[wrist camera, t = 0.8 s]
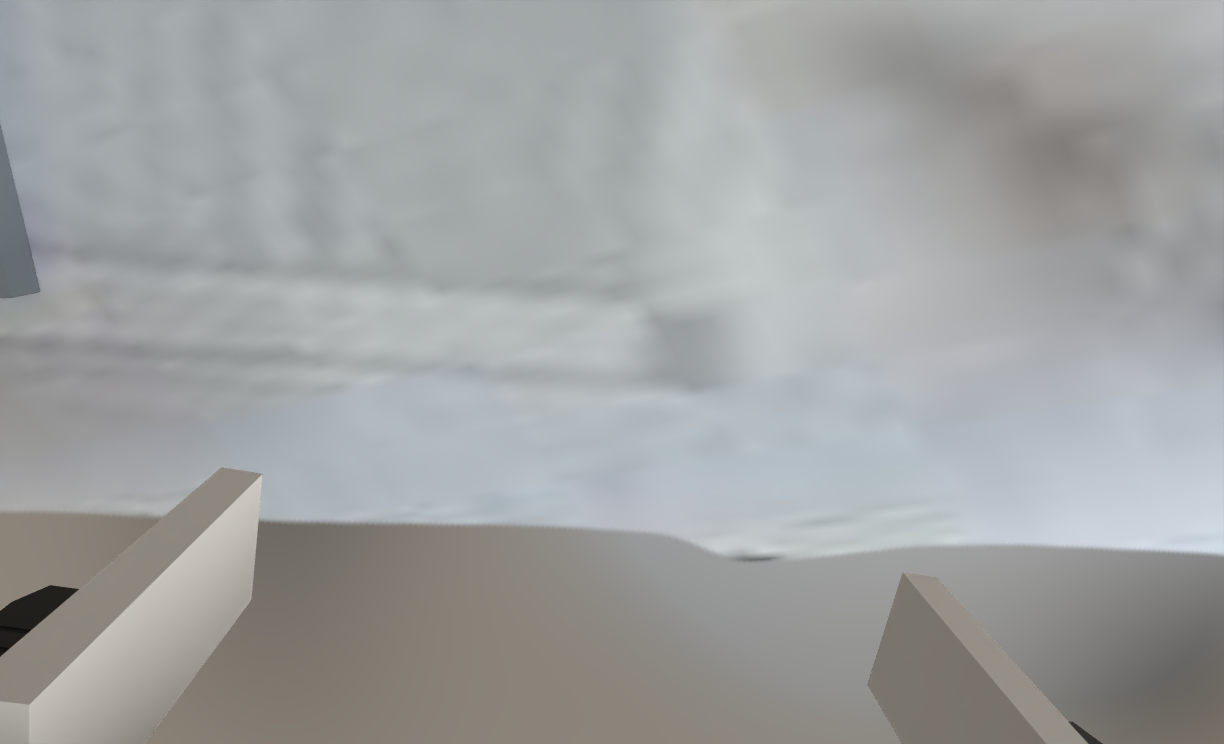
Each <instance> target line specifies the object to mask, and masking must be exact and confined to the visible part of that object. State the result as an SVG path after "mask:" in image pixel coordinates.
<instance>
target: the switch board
mask: <svg viewBox="0 0 1224 744" xmlns="http://www.w3.org/2000/svg"><path fill="white" fill-rule="evenodd" d="M37 292H40V288H39V284H38V280H37V276H36V272H35V268H34V263H33V259H32V255H31V251H30V247H29V243H28V238H27V234H26V230H25V226H24V222H23V218H22V214H21V209H20V205H19V201H18V197H17V193H16V189H15V184H14V180H13V176H12V172H11V168H10V164H9V159H8V155H7V151H6V147H5V143H4V139H3V135H2V130H1V126H0V298H13V297H18V296H23V295H28V294H32V293H37Z"/></svg>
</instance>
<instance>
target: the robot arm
mask: <svg viewBox="0 0 1224 744" xmlns="http://www.w3.org/2000/svg"><path fill="white" fill-rule="evenodd" d="M262 475H263V474H261V473H254V472H248V471H241V470H235V469H228V468H220V469H219V470H218V471H217V472H216V473H215V474H213V475H212V476H211V477H210V478H209V479H208V480H206V481H205V482H204V483H203V484H202V485H201V486H199V487H198V488H197V489H196V490H195V491H194V492H192V493H191V494H190V495H189V496H188V497H187V498H185V499H184V500H183V501H182V502H181V503H180V504H178V505H177V506H176V507H175V508H174V509H173V510H171V511H170V512H169V513H168V514H167V515H166V516H164V517H163V518H162V519H161V520H160V521H159V522H157V523H156V524H155V525H154V526H153V527H152V528H151V529H149V530H148V531H147V532H146V533H144V534H143V535H142V536H141V537H140V538H139V539H137V540H136V541H135V542H134V543H133V544H132V545H130V546H129V547H128V548H127V549H126V550H125V551H123V552H122V553H121V554H120V555H119V556H118V557H116V558H115V559H114V560H113V561H112V562H111V563H109V564H108V565H107V566H106V567H105V568H104V569H102V570H101V571H100V572H99V573H98V574H97V575H95V576H94V577H93V578H92V579H91V580H90V581H88V582H87V583H86V584H85V585H84V586H82V587H81V588H80V589H74V588H66V587H59V586H52V585H50V586H48V587H45V588H43V589H41V590H38V591H36V592H34V593H31V594H29V595H27V596H24V597H22V598H20V599H18V600H15V601H13V602H11V603H10V604H9V605H7V606H6V607H5V608H3V609H2V610H1V611H0V744H145V743H146V742H147V740H148V739H149V738H150V736H151V735H152V733H153V732H154V731H155V729H156V728H157V727H158V725H159V724H160V723H161V721H162V720H163V718H164V717H165V716H166V714H167V713H168V712H169V710H170V709H171V708H172V706H173V705H174V703H175V702H176V701H177V699H178V698H179V697H180V696H181V694H182V693H183V691H184V690H185V689H186V687H187V686H188V685H189V683H190V682H191V681H192V679H193V678H194V676H195V675H196V674H197V673H198V671H199V670H200V668H201V667H202V666H203V664H204V663H205V662H206V660H207V659H208V658H209V656H210V655H211V654H212V652H213V651H214V649H215V648H216V647H217V645H218V644H219V643H220V641H221V640H222V639H223V637H224V636H225V634H226V633H227V632H228V631H229V629H230V628H231V626H232V625H233V624H234V622H235V621H236V620H237V618H238V617H239V615H240V614H241V613H242V612H243V610H244V609H245V607H246V606H247V605H248V603H249V602H250V601H251V596H252V585H253V574H254V563H255V552H256V541H257V529H258V519H259V508H260V497H261V486H262ZM867 685H868V687H869V688H870V690H871V692H872V693H873V695H874V696H875V699H876V700H877V702H878V704H879V705H880V707H881V709H882V710H883V712H884V714H885V716H886V717H887V719H888V721H889V722H890V724H891V726H892V728H893V729H894V731H895V733H896V734H897V736H898V738H899V739H900V741H901V743H902V744H1102V743H1101V742H1099V741H1098V740H1097V739H1095V738H1094V737H1092V736H1091V735H1090V734H1088V733H1087V732H1086V731H1084V730H1083V729H1082V728H1080V727H1079V726H1078V725H1076V724H1075V723H1074V722H1068V721H1067V720H1066V719H1065V718H1064V717H1063V716H1062V715H1061V713H1060V712H1059V711H1058V710H1057V709H1056V708H1055V707H1054V706H1053V705H1052V703H1051V702H1050V701H1049V700H1048V699H1047V698H1046V697H1045V696H1044V695H1043V694H1042V692H1041V691H1040V690H1039V689H1038V688H1037V687H1036V686H1035V685H1034V684H1033V683H1032V682H1031V681H1030V679H1029V678H1028V677H1027V676H1026V675H1025V674H1024V673H1023V672H1022V671H1021V670H1020V668H1019V667H1018V666H1017V665H1016V664H1015V663H1014V662H1013V661H1012V660H1011V658H1010V657H1009V656H1008V655H1007V654H1006V653H1005V652H1004V651H1003V650H1002V649H1001V648H1000V646H999V645H998V644H997V643H996V642H995V641H994V640H993V639H992V638H991V637H990V636H989V635H988V634H987V632H986V631H985V630H984V629H983V628H982V627H981V626H980V624H978V622H977V621H976V620H975V619H974V618H973V617H972V616H971V615H970V614H969V612H968V611H967V610H966V609H965V608H964V607H963V606H962V605H961V604H960V603H959V602H958V600H957V599H956V598H955V597H954V596H953V595H952V594H951V593H950V592H949V591H948V589H947V588H946V587H945V586H944V585H943V584H942V583H941V582H940V581H939V580H938V578H935V577H929V576H922V575H916V574H909V573H902V576H901V580H900V583H899V586H898V589H897V592H896V595H895V599H894V602H893V605H892V608H891V612H890V614H889V618H888V621H887V624H886V627H885V630H884V633H883V636H882V640H881V643H880V646H879V649H878V652H877V655H876V659H875V662H874V666H873V668H872V671H871V675H870V678H869V681H868V684H867Z"/></svg>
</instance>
